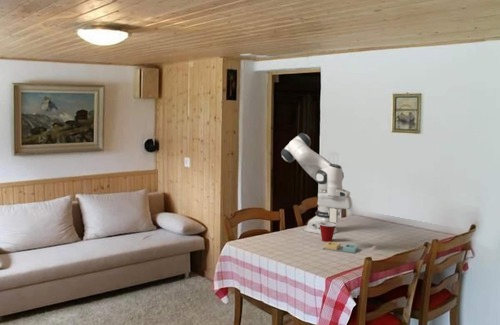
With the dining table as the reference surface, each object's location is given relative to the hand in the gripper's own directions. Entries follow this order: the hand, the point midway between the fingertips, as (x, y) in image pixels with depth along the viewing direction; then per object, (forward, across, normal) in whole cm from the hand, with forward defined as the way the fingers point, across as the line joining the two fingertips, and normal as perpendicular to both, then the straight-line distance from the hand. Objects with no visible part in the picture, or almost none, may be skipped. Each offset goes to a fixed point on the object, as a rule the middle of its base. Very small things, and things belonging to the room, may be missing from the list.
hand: (334, 214), depth 307 cm
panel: (+21, +5, 0) cm, 22 cm away
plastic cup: (+21, -9, +14) cm, 27 cm away
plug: (+4, 0, 0) cm, 4 cm away
